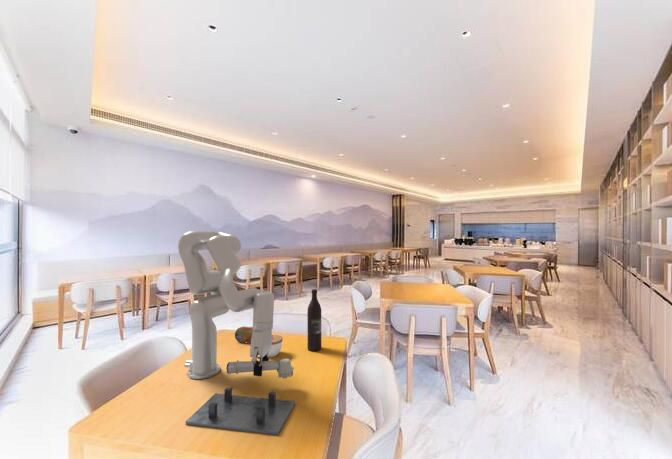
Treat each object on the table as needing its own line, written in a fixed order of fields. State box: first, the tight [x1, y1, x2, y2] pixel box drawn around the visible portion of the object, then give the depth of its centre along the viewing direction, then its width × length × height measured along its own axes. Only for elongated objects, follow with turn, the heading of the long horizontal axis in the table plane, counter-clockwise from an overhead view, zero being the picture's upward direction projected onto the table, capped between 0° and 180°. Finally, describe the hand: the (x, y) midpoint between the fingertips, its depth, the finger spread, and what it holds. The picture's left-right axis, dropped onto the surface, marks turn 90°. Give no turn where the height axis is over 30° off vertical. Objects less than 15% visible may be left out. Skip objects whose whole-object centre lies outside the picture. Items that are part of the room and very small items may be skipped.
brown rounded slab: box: [234, 326, 253, 344], centre depth 159 cm, size 15×3×8 cm, turn 81°
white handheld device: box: [226, 358, 295, 379], centre depth 113 cm, size 5×7×25 cm
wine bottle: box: [306, 288, 322, 352], centre depth 150 cm, size 7×7×30 cm
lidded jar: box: [269, 334, 283, 358], centre depth 143 cm, size 11×11×9 cm
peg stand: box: [185, 387, 296, 437], centre depth 96 cm, size 30×16×5 cm, turn 80°
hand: (261, 371), depth 113 cm, fingers closed on white handheld device, 5 cm apart
